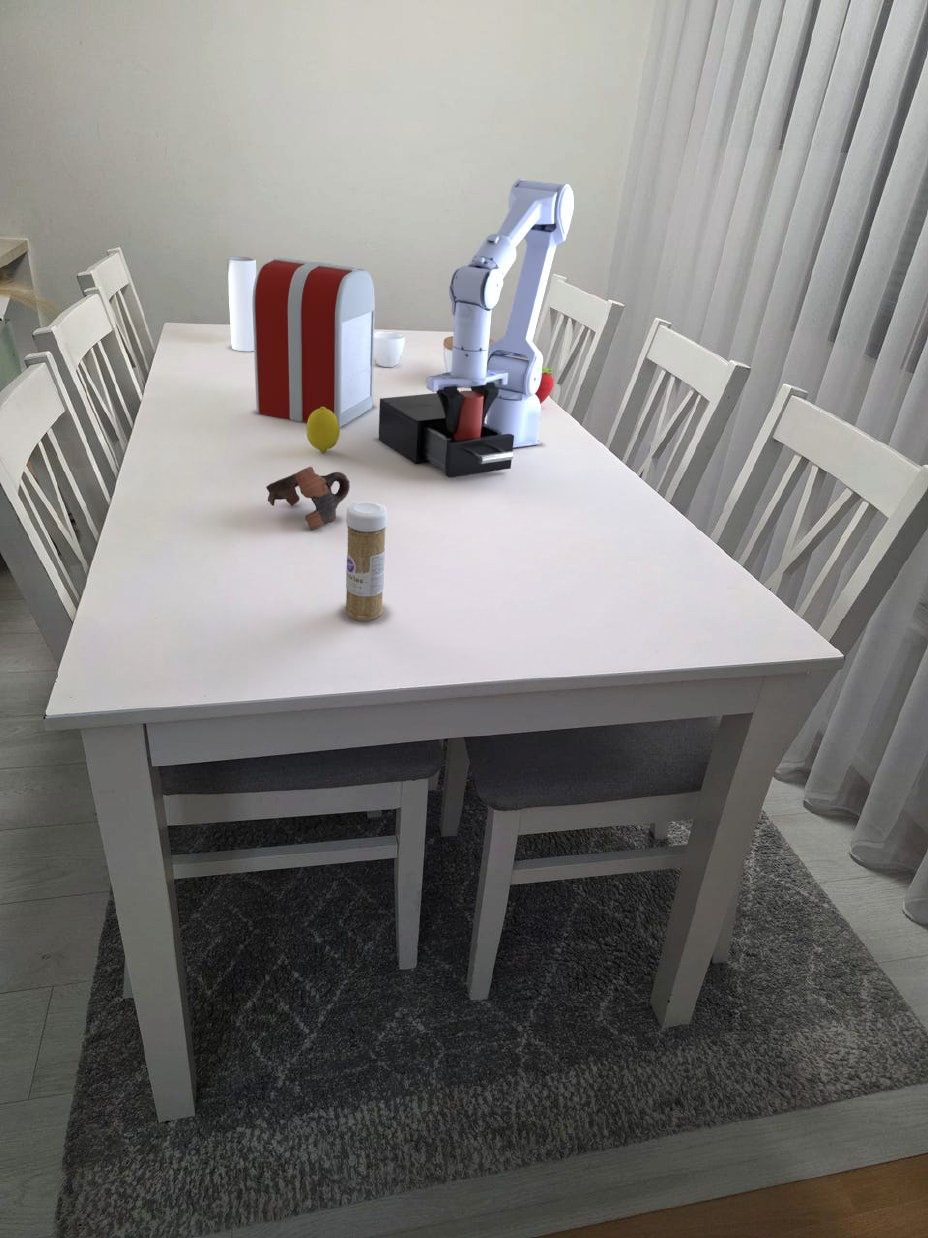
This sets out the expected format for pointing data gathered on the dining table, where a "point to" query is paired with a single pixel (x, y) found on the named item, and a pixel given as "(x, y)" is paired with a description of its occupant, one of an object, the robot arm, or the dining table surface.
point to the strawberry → (545, 384)
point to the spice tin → (470, 416)
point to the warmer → (408, 422)
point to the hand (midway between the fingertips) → (464, 429)
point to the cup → (388, 348)
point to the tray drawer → (466, 450)
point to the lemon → (323, 429)
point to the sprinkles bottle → (365, 560)
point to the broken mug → (312, 493)
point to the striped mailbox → (313, 339)
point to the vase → (241, 301)
